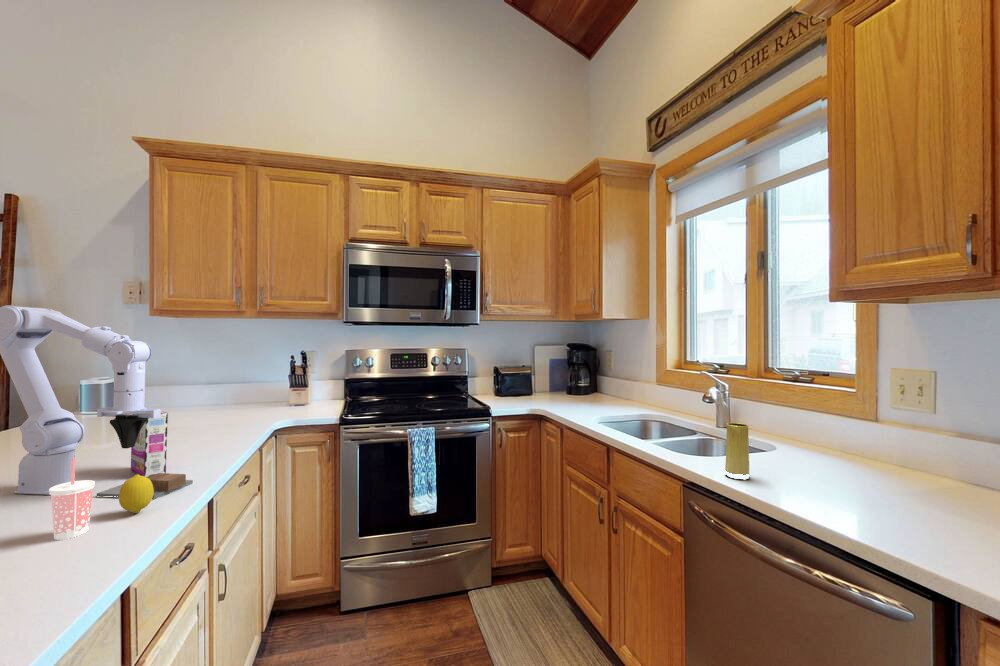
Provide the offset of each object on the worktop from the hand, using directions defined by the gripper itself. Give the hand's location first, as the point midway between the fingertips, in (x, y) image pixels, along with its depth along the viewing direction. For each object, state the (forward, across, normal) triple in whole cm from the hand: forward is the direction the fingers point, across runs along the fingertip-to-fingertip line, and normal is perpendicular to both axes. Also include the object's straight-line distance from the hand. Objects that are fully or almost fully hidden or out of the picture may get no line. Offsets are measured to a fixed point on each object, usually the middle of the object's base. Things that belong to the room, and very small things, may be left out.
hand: (128, 447), depth 105 cm
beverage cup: (+10, +12, -23) cm, 28 cm away
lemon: (+10, +15, -13) cm, 22 cm away
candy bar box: (+10, -6, +12) cm, 17 cm away
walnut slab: (+8, +6, 0) cm, 10 cm away
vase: (+10, +152, +27) cm, 155 cm away
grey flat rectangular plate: (+10, +5, 0) cm, 11 cm away
